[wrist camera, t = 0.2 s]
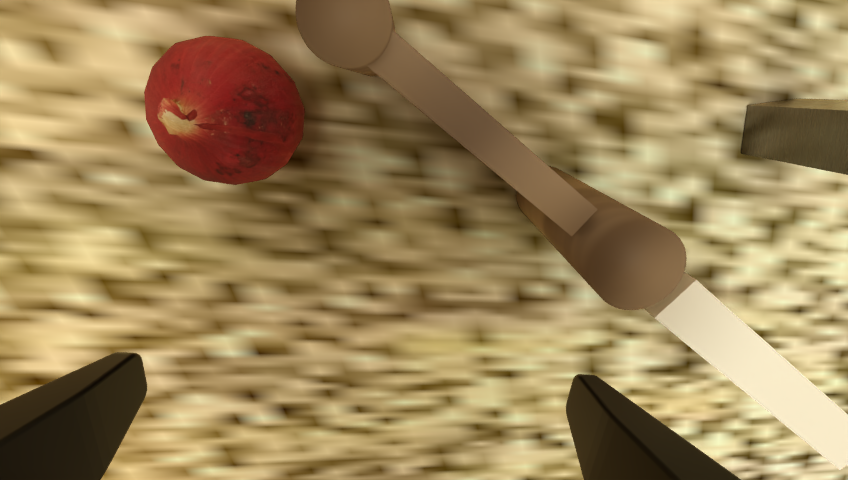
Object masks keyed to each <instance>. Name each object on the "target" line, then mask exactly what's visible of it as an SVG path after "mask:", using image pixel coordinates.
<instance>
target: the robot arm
mask: <svg viewBox="0 0 848 480" xmlns="http://www.w3.org/2000/svg"><path fill="white" fill-rule="evenodd" d="M146 392H147V382H146V377H145V372H144V367H143V362H142V358H141V356H140V355H139V354H137V353H125V352H117V353H113V354H111V355H109V356H107V357H104V358H102V359H100V360H98V361H96V362H93V363H91V364H89V365H87V366H85V367H82V368H80V369H78V370H76V371H74V372H71V373H69V374H67V375H65V376H63V377H60V378H58V379H56V380H54V381H52V382H49V383H47V384H45V385H43V386H41V387H38V388H36V389H34V390H32V391H30V392H27V393H25V394H23V395H21V396H19V397H16V398H14V399H12V400H10V401H8V402H6V403H3V404H1V405H0V480H101V478H102V476H103V475H104V473H105V472H106V470H107V468H108V466H109V464H110V463H111V461H112V459H113V457H114V455H115V453H116V452H117V450H118V448H119V446H120V444H121V442H122V440H123V438H124V436H125V434H126V433H127V431H128V429H129V427H130V425H131V423H132V421H133V419H134V417H135V416H136V414H137V412H138V410H139V408H140V406H141V404H142V402H143V400H144V398H145V396H146ZM566 414H567V418H568V422H569V426H570V429H571V433H572V437H573V441H574V444H575V448H576V452H577V455H578V459H579V463H580V467H581V470H582V474H583V478H584V480H741V479H739V478H738V477H737V476H735V475H734V474H732V473H731V472H730V471H728V470H727V469H725V468H724V467H723V466H721V465H720V464H718V463H717V462H716V461H714V460H713V459H712V458H710V457H709V456H707V455H706V454H705V453H703V452H702V451H700V450H699V449H698V448H696V447H695V446H693V445H692V444H691V443H689V442H688V441H686V440H685V439H684V438H682V437H681V436H679V435H678V434H677V433H675V432H674V431H672V430H671V429H670V428H668V427H667V426H665V425H664V424H663V423H661V422H660V421H658V420H657V419H656V418H654V417H653V416H651V415H650V414H649V413H647V412H646V411H645V410H643V409H642V408H640V407H639V406H638V405H636V404H635V403H633V402H632V401H631V400H629V399H628V398H626V397H625V396H624V395H622V394H621V393H619V392H618V391H617V390H615V389H614V388H612V387H611V386H610V385H608V384H607V383H605V382H604V381H603V380H601V379H600V378H598V377H597V376H595V375H584V374H578V375H576V376H575V377H574V379H573V382H572V385H571V389H570V392H569V396H568V400H567V404H566Z"/></svg>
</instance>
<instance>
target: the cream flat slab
mask: <svg viewBox="0 0 848 480" xmlns="http://www.w3.org/2000/svg"><path fill="white" fill-rule="evenodd" d="M644 309H645V310H647V311H648V312H649V313H650V314H651V315H652V316H653V317H654V318H655V319H656V320H658V321H659V322H660V323H661V324H662V325H664V326H665V327H666V328H667V329H669V330H670V331H671V332H672V333H673V334H675V335H676V336H677V337H678V338H680V339H681V340H682V341H683V342H684V343H686V344H687V345H688V346H689V347H691V348H692V349H693V350H694V351H695V352H697V353H698V354H699V355H700V356H701V357H703V358H704V359H705V360H706V361H708V362H709V363H710V364H711V365H712V366H714V367H715V368H716V369H717V370H719V371H720V372H721V373H722V374H723V375H725V376H726V377H727V378H728V379H730V380H731V381H732V382H733V383H734V384H736V385H737V386H738V387H739V388H740V389H742V390H743V391H744V392H745V393H747V394H748V395H749V396H750V397H751V398H753V399H754V400H755V401H756V402H758V403H759V404H760V405H761V406H762V407H764V408H765V409H766V410H767V411H769V412H770V413H771V414H772V415H773V416H775V417H776V418H777V419H778V420H779V421H781V422H782V423H783V424H784V425H786V426H787V427H788V428H789V429H790V430H792V431H793V432H794V433H795V434H797V435H798V436H799V437H800V438H801V439H803V440H804V441H805V442H806V443H808V444H809V445H810V446H811V447H812V448H814V449H815V450H816V451H817V452H818V453H820V454H821V455H822V456H823V457H825V458H826V459H827V460H828V461H829V462H831V463H832V464H833V465H834V466H836V467H837V468H838V469H839V470H841V469H842V468H844V467H845V466H847V465H848V415H847V414H846V413H845V412H844V411H843V410H842V409H841V408H840V407H838V406H837V405H836V404H835V403H834V402H833V401H832V400H831V399H830V398H828V397H827V396H826V395H825V394H824V393H823V392H822V391H821V390H819V389H818V388H817V387H816V386H815V385H814V384H813V383H812V382H810V381H809V380H808V379H807V378H806V377H805V376H804V375H803V374H801V373H800V372H799V371H798V370H797V369H796V368H795V367H794V366H792V365H791V364H790V363H789V362H788V361H787V360H786V359H785V358H783V357H782V356H781V355H780V354H779V353H778V352H777V351H776V350H774V349H773V348H772V347H771V346H770V345H769V344H768V343H767V342H765V341H764V340H763V339H762V338H761V337H760V336H759V335H758V334H756V333H755V332H754V331H753V330H752V329H751V328H750V327H749V326H747V325H746V324H745V323H744V322H743V321H742V320H741V319H740V318H738V317H737V316H736V315H735V314H734V313H733V312H732V311H731V310H730V309H728V308H727V307H726V306H725V305H724V304H723V303H722V302H721V301H719V300H718V299H717V298H716V297H715V296H714V295H713V294H712V293H710V292H709V291H708V290H707V289H706V288H705V287H704V286H703V285H701V284H700V283H699V282H698V281H697V280H696V279H694V278H693V277H691V276H690V275H688V274H687V273H685V272H684V274H683V276H682V278H681V280H680V282H679V283H678V285H677V286H676V288H675V289H674V290H673V291H672V292H671V293H670V294H669V295H668V296H667V297H665V298H664V299H663V300H661V301H660V302H658V303H656V304H654V305H652V306H649V307H646V308H644Z"/></svg>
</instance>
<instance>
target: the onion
mask: <svg viewBox="0 0 848 480" xmlns="http://www.w3.org/2000/svg"><path fill="white" fill-rule="evenodd" d="M144 94H145V108H146V120H147V122H148V124H149V126H150V128H151V130H152V132H153V134H154V136H155V139H156V141H157V143H158V145H159V146H160V147H161V148H162V149H163V150H164V151H165V152H166V153H167V154H168V156H169V157H170V158H171V159H172V160H173V161H174V162H175V163H176V165H178V166H179V167H180V168H182V169H184V170H186V171H188V172H190V173H191V174H193V175H195V176H197V177H199V178H201V179H203V180H206V181H213V182H219V183H226V184H233V185H237V184H242V183H248V182H253V181H259V180H263V179H266V178H268V177H269V176H271V175H272V174H273V173H275V172H276V171H278V170H279V169H281V168H282V167H283V166H285V165H286V164H287V163H288V161H289V159H290V158H291V156H292V154H293V153H294V151H295V150H296V148H297V146H298V145H299V143H300V141H301V140H302V138H303V128H304V113H305V109H304V106H303V104H302V101H301V98H300V96H299V93H298V90H297V88H296V85H295V82H294V81H293V80H292V79H291V77H290V76H289V75H288V74H287V73H286V72H285V71H284V70H283V69H282V67H281V66H280V65H279V64H278V63H277V62H276V61H275V60H274V59H273V57H272V56H271V55H269V54H267V53H265V52H264V51H262V50H260V49H258V48H256V47H254V46H253V45H251V44H249V43H247V42H245V41H243V40H238V39H231V38H223V37H215V36H203V37H199V38H195V39H190V40H186V41H182V42H178V43H175V44H174V45H173V46H171V47H170V48H169V49H168V51H167V52H166V53H165V54H164V55H163V56H162V57H161V58H160V59H159V60H158V61H157V62H156V64H155V65H154V66H153V67H152V70H151V73H150V76H149V79H148V82H147V85H146V89H145V92H144Z"/></svg>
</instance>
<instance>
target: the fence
mask: <svg viewBox="0 0 848 480" xmlns="http://www.w3.org/2000/svg"><path fill="white" fill-rule="evenodd" d="M296 19H297V24H298V28H299V31H300V34H301V36H302V38H303V40H304V42H305V43H306V45H307V46H308V48H309V49H310V50H311V51H312V52H313V53H314V54H315V55H316V56H317V57H319V58H320V59H321V60H323V61H325V62H327V63H329V64H331V65H334V66H337V67H341V68H344V69H348V70H351V71H355V72H358V73H362V74H365V75H369V76H380V77H381V78H382V79H383V80H384V81H386V82H387V83H388V84H389V85H390V86H392V87H393V88H394V89H395V90H396V91H398V92H399V93H400V94H401V95H402V96H404V97H405V98H406V99H407V100H408V101H410V102H411V103H412V104H413V105H414V106H416V107H417V108H418V109H419V110H420V111H422V112H423V113H424V114H425V115H426V116H428V117H429V118H430V119H431V120H432V121H434V122H435V123H436V124H437V125H438V126H440V127H441V128H442V129H443V130H444V131H446V132H447V133H448V134H449V135H450V136H452V137H453V138H454V139H455V140H456V141H458V142H459V143H460V144H461V145H462V146H464V147H465V148H466V149H467V150H468V151H470V152H471V153H472V154H473V155H474V156H476V157H477V158H478V159H479V160H480V161H482V162H483V163H484V164H485V165H487V166H488V167H489V168H490V169H491V170H493V171H494V172H495V173H496V174H497V175H499V176H500V177H501V178H502V179H503V180H505V181H506V182H507V183H508V184H509V185H511V186H512V187H513V188H514V189H515V190H517V195H516V198H517V203H518V206H519V208H520V209H521V211H522V212H523V213H524V214H525V215H526V216H527V217H528V219H529V220H530V221H531V222H532V223H533V224H534V225H535V226H536V227H537V228H538V229H539V230H540V232H541V233H542V234H543V235H544V236H545V237H546V238H547V239H548V240H549V241H550V242H551V244H552V245H553V246H554V247H555V248H556V249H557V250H558V251H559V252H560V253H561V254H562V256H563V257H564V258H565V259H566V260H567V261H568V262H569V263H570V264H571V265H572V266H573V267H574V269H575V270H576V271H577V272H578V273H579V274H580V275H581V276H582V277H583V278H584V279H585V281H586V282H587V283H588V284H589V285H590V286H591V287H592V288H593V289H594V290H595V291H596V293H597V294H598V295H599V296H600V297H601V298H602V299H603V300H604V301H605V302H607V303H608V304H610V305H611V306H614V307H616V308H619V309H624V310H637V309H643V308H646V307H649V306H652V305H654V304H656V303H658V302H660V301H661V300H663V299H664V298H665V297H667V296H668V295H669V294H670V293H671V292H672V291H673V290H674V289H675V288H676V286H677V285H678V283H679V282H680V280H681V278H682V276H683V274H684V271H685V267H686V251H685V247H684V245H683V243H682V241H681V240H680V238H679V237H678V236H677V235H676V234H675V233H674V232H672V231H671V230H669V229H667V228H665V227H663V226H661V225H660V224H658V223H656V222H654V221H652V220H651V219H649V218H647V217H645V216H643V215H641V214H640V213H638V212H636V211H634V210H632V209H630V208H629V207H627V206H625V205H623V204H621V203H619V202H618V201H616V200H614V199H612V198H610V197H608V196H607V195H605V194H603V193H601V192H599V191H597V190H596V189H594V188H592V187H590V186H588V185H586V184H585V183H583V182H581V181H579V180H577V179H575V178H574V177H572V176H570V175H568V174H566V173H564V172H563V171H561V170H559V169H557V168H554V167H550V166H548V165H546V164H545V163H544V162H543V161H542V160H541V159H540V158H538V157H537V156H536V155H535V154H534V153H533V152H532V151H530V150H529V149H528V148H527V147H526V146H525V145H524V144H522V143H521V142H520V141H519V140H518V139H517V138H516V137H514V136H513V135H512V134H511V133H510V132H509V131H508V130H506V129H505V128H504V127H503V126H502V125H501V124H500V123H498V122H497V121H496V120H495V119H494V118H493V117H492V116H490V115H489V114H488V113H487V112H486V111H485V110H484V109H482V108H481V107H480V106H479V105H478V104H477V103H476V102H474V101H473V100H472V99H471V98H470V97H469V96H468V95H466V94H465V93H464V92H463V91H462V90H461V89H460V88H458V87H457V86H456V85H455V84H454V83H453V82H452V81H450V80H449V79H448V78H447V77H446V76H445V75H444V74H442V73H441V72H440V71H439V70H438V69H437V68H436V67H434V66H433V65H432V64H431V63H430V62H429V61H428V60H426V59H425V58H424V57H423V56H422V55H421V54H420V53H418V52H417V51H416V50H415V49H414V48H413V47H412V46H410V45H409V44H408V43H407V42H406V41H405V40H404V39H402V38H401V37H400V36H399V35H398V34H397V33H396V32H395V27H394V22H393V18H392V13H391V8H390V4H389V0H297V1H296Z"/></svg>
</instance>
